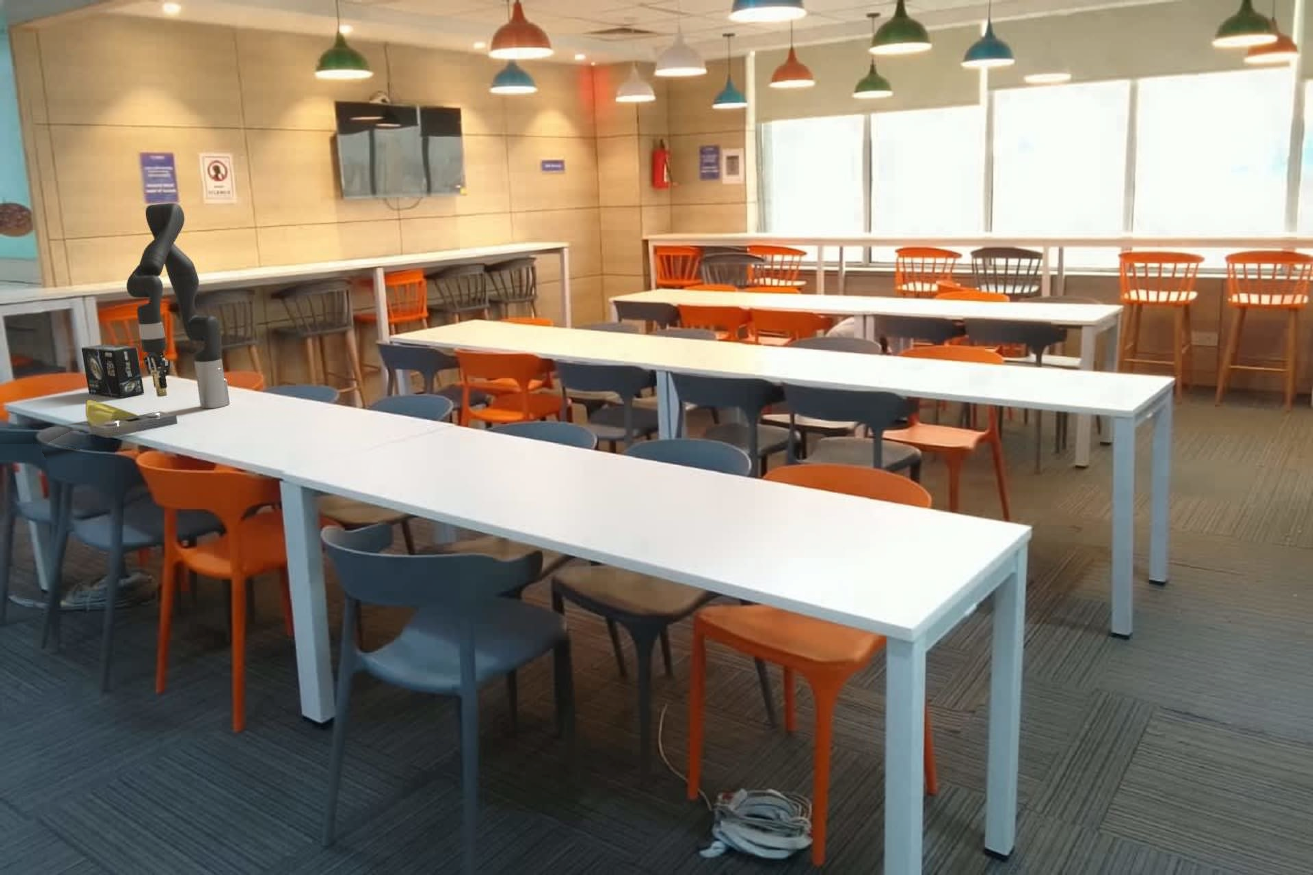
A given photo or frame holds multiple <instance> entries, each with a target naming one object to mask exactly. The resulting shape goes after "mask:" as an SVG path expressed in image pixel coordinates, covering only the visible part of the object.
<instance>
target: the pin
mask: <svg viewBox="0 0 1313 875" xmlns="http://www.w3.org/2000/svg"><path fill="white" fill-rule="evenodd" d="M152 373H154V380H155V386H156V387H155V391H156V397H159V398H161V397H162V398H163V397H166V396H168V393H167V388H164V389H161V388H160V387H159V380H158V375H157V371H155V369H152Z"/></svg>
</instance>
